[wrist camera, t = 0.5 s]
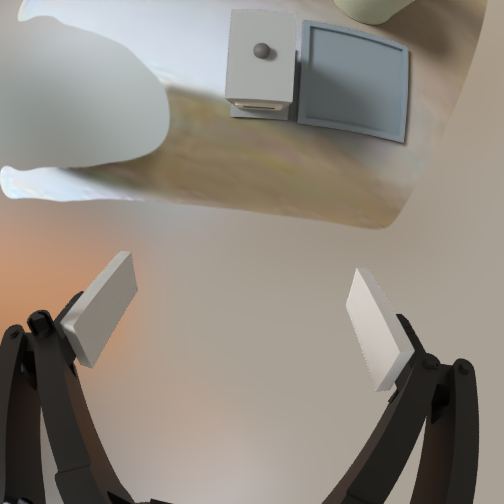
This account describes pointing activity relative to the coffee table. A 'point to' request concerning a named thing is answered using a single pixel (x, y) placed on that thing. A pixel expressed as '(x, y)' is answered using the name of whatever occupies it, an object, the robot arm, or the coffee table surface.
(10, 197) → the coffee table surface
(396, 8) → the can
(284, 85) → the box
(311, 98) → the tray
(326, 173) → the coffee table surface
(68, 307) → the robot arm
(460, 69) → the coffee table surface
